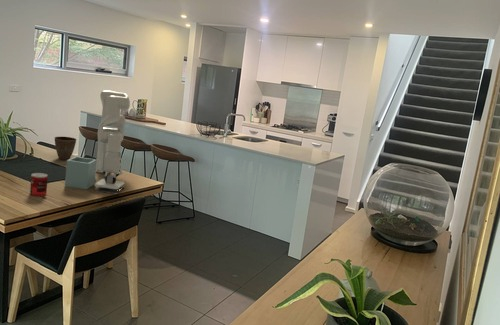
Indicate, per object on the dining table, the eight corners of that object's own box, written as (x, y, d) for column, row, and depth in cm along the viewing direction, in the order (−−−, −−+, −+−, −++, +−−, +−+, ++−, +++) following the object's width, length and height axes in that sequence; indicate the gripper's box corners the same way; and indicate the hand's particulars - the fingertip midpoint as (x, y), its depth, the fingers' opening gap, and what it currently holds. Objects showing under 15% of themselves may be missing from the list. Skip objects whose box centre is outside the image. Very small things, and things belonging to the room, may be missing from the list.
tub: (73, 180, 242) (75, 156, 239) (94, 184, 243) (96, 159, 240) (64, 186, 229) (66, 160, 227) (86, 189, 230) (89, 163, 227)
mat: (102, 184, 244) (102, 184, 244) (124, 188, 245) (124, 187, 245) (94, 190, 230) (94, 190, 230) (117, 194, 231) (117, 193, 231)
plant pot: (69, 162, 284) (70, 141, 282) (49, 159, 284) (50, 138, 281) (78, 158, 299) (79, 138, 296) (59, 155, 299) (60, 135, 296)
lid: (102, 181, 243) (103, 171, 242) (124, 185, 244) (125, 175, 243) (94, 187, 230) (95, 176, 229) (117, 190, 231) (118, 180, 230)
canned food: (33, 191, 212) (35, 172, 210) (48, 193, 213) (50, 174, 211) (27, 195, 205) (28, 175, 203) (42, 197, 206) (44, 177, 204)
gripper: (128, 155, 238) (125, 183, 241) (101, 150, 237) (98, 179, 240) (125, 157, 230) (121, 186, 234) (97, 153, 229) (94, 182, 233)
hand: (110, 182), depth 237 cm, fingers closed on lid, 3 cm apart
